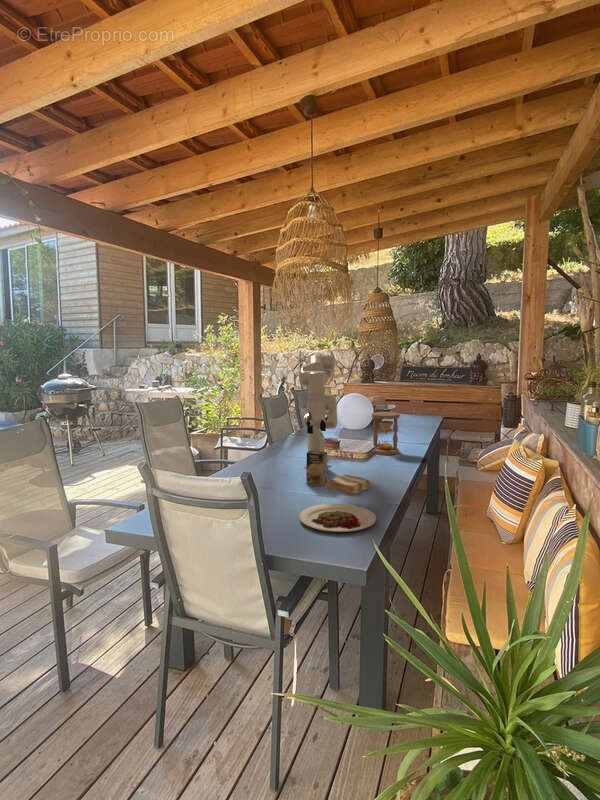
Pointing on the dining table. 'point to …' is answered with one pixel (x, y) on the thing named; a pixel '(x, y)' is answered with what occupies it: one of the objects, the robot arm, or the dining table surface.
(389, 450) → the hourglass
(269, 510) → the dining table surface
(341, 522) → the plated food
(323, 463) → the coffee box
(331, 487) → the sliced bread
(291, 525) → the dining table surface
